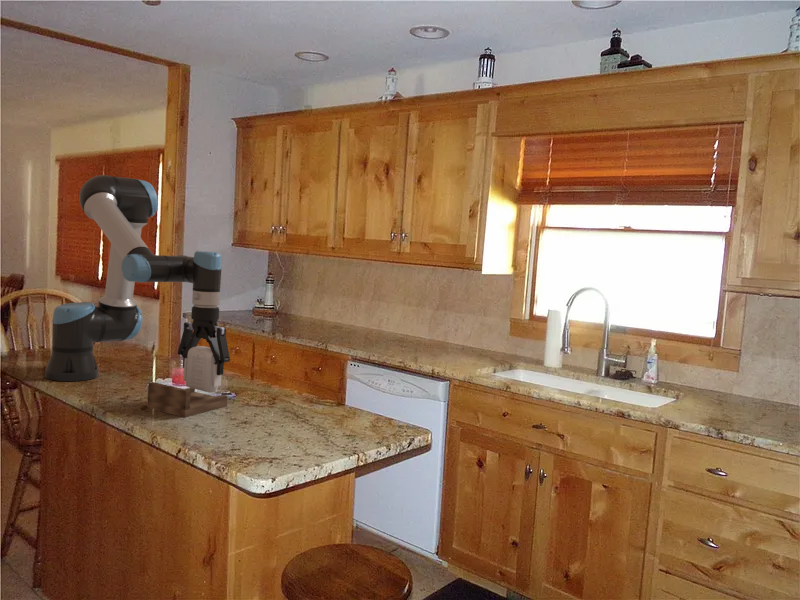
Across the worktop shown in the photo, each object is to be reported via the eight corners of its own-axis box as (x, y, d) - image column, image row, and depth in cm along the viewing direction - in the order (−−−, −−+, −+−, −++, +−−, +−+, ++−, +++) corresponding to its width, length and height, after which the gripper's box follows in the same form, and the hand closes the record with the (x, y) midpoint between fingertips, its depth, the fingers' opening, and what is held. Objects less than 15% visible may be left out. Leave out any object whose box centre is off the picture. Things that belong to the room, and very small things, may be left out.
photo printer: (220, 391, 185) (222, 348, 184) (209, 393, 181) (211, 349, 180) (194, 385, 190) (196, 343, 189) (183, 387, 186) (185, 345, 185)
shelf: (147, 407, 177) (148, 382, 177) (190, 397, 192) (191, 374, 191) (185, 417, 171) (186, 391, 171) (226, 406, 185) (228, 382, 185)
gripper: (166, 302, 185) (163, 378, 187) (227, 311, 175) (223, 391, 177) (185, 301, 192) (182, 375, 194) (245, 309, 182) (242, 387, 183)
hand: (202, 383), depth 185 cm, fingers closed on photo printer, 10 cm apart
